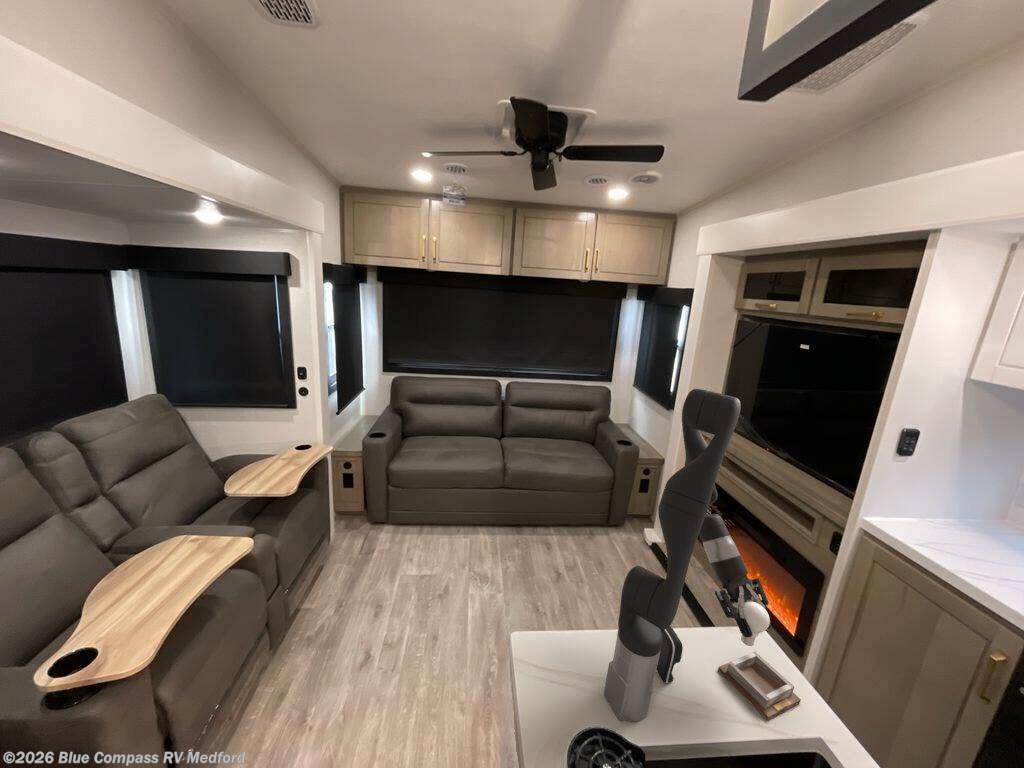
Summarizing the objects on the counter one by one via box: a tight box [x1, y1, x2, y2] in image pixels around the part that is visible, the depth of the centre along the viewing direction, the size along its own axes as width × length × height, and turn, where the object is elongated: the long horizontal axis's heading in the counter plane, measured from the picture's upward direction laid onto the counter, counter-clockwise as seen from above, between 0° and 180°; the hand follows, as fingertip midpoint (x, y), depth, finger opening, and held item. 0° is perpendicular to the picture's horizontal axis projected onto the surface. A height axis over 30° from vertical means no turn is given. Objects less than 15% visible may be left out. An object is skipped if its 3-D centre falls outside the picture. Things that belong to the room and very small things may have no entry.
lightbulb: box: [740, 601, 771, 647], centre depth 94 cm, size 6×6×11 cm
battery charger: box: [656, 625, 684, 684], centre depth 98 cm, size 7×4×11 cm, turn 7°
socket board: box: [717, 651, 802, 721], centre depth 97 cm, size 12×13×4 cm
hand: (758, 632), depth 93 cm, fingers closed on lightbulb, 6 cm apart
